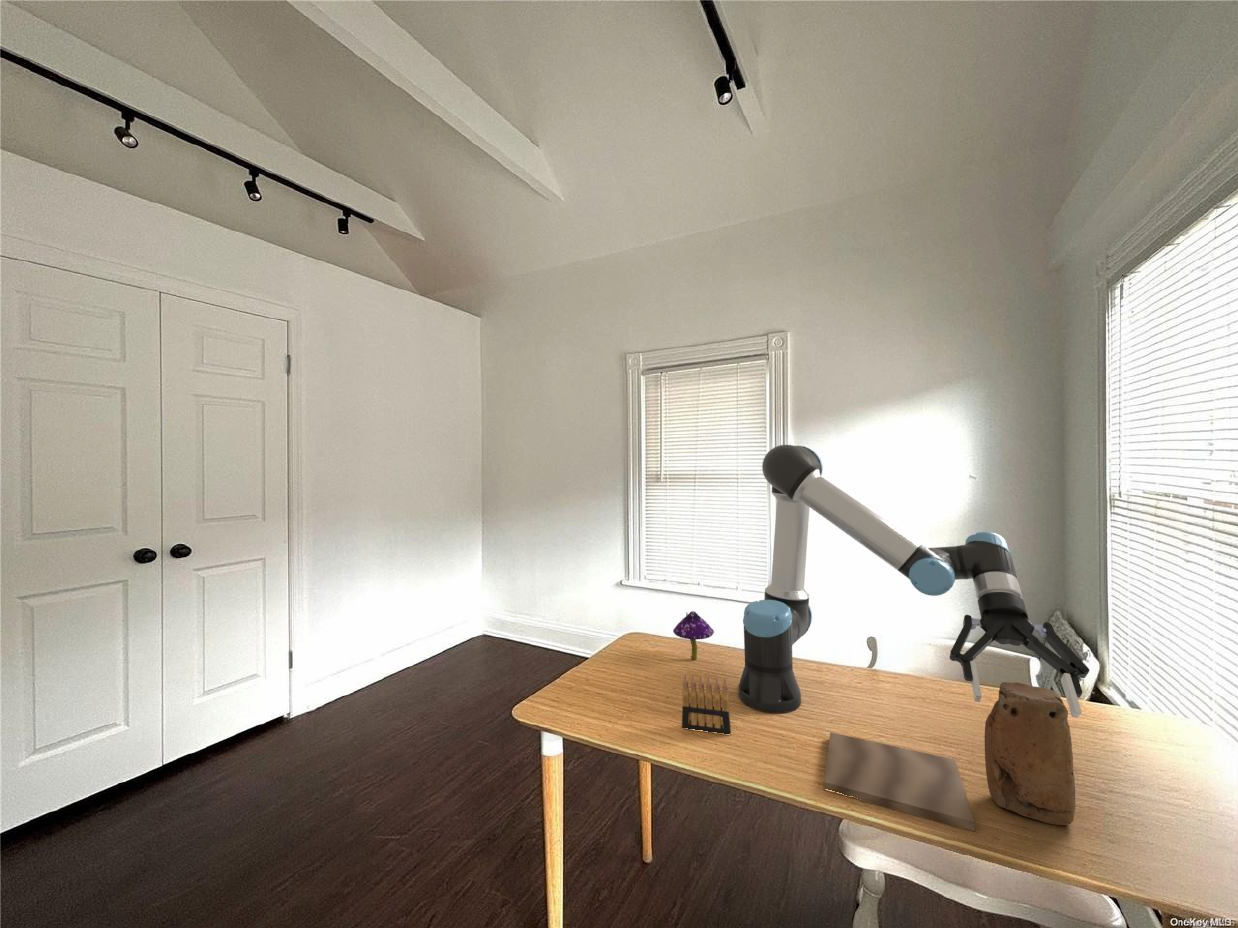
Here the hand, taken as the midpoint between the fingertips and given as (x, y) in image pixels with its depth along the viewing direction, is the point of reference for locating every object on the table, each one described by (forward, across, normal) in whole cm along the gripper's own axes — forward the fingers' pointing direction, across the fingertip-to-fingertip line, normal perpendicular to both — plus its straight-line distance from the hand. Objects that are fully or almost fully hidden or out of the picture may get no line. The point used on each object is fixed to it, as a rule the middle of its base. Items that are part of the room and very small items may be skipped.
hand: (1025, 706), depth 83 cm
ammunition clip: (+14, +57, -7) cm, 60 cm away
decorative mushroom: (-12, +72, -33) cm, 80 cm away
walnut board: (+15, +21, -6) cm, 27 cm away
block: (+14, +1, -7) cm, 16 cm away
